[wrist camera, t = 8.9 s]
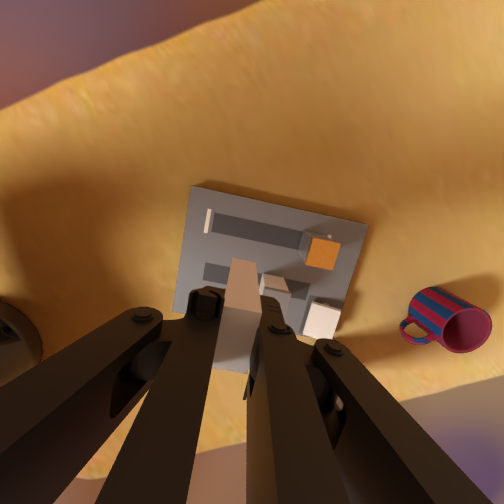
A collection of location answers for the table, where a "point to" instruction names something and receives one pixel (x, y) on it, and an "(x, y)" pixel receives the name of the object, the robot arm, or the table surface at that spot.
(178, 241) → the table surface
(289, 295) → the slider cream
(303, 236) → the block
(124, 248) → the table surface
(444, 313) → the mug
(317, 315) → the block
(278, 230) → the panel
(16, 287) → the table surface
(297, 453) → the robot arm
